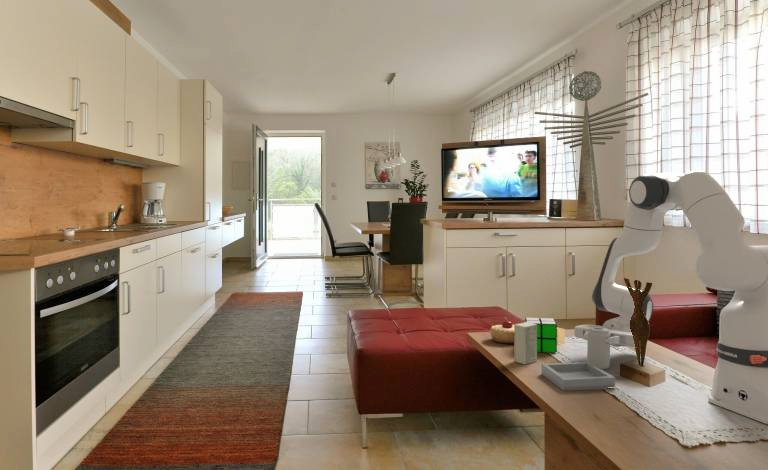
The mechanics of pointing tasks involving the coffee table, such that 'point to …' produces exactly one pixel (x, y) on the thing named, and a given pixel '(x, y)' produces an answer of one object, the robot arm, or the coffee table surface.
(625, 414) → the coffee table surface
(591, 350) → the beverage can
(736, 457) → the coffee table surface
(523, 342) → the skincare box
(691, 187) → the robot arm
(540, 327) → the puzzle cube
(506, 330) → the pastry
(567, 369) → the tray
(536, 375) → the coffee table surface
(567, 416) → the coffee table surface
